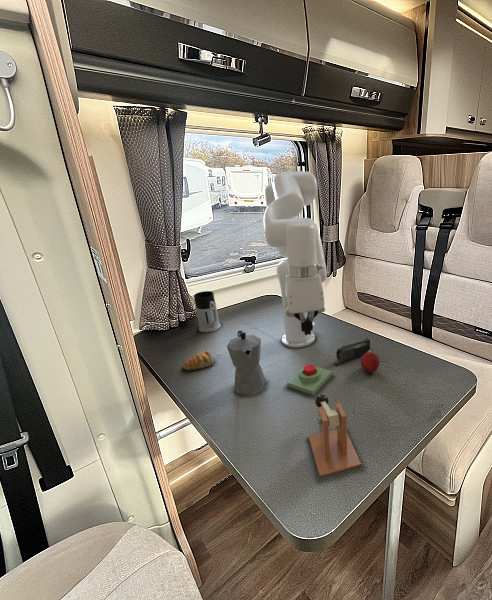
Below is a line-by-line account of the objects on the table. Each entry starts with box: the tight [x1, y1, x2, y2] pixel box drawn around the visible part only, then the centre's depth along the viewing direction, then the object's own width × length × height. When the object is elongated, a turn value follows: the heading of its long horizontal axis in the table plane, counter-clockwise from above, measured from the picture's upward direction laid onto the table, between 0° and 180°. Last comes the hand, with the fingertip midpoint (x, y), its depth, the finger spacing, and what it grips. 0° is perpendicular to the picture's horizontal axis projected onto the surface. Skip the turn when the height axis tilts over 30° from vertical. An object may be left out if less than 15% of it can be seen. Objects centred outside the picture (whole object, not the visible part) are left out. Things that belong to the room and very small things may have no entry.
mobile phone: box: [334, 338, 371, 365], centre depth 108 cm, size 5×3×15 cm
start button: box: [303, 363, 316, 376], centre depth 94 cm, size 4×4×2 cm
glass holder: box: [193, 290, 222, 333], centre depth 129 cm, size 9×14×15 cm, turn 43°
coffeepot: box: [226, 329, 267, 395], centre depth 92 cm, size 15×9×18 cm, turn 25°
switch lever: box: [314, 394, 340, 428], centre depth 72 cm, size 13×3×3 cm, turn 16°
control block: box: [286, 363, 333, 396], centre depth 95 cm, size 11×9×4 cm
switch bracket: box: [308, 402, 362, 478], centre depth 69 cm, size 11×9×12 cm
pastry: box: [182, 350, 215, 371], centre depth 106 cm, size 9×7×4 cm
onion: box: [360, 349, 380, 373], centre depth 99 cm, size 6×6×8 cm
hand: (307, 332), depth 90 cm, fingers closed
